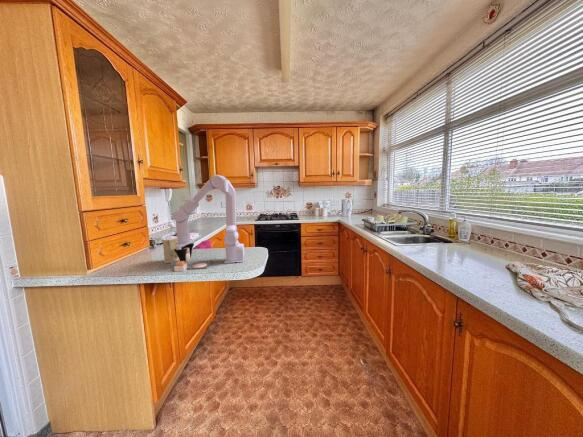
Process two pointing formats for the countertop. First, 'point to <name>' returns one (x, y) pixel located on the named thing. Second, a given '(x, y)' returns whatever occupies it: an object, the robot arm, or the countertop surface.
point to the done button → (180, 263)
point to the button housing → (180, 267)
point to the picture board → (199, 265)
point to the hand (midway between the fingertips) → (186, 259)
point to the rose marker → (188, 256)
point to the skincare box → (170, 250)
